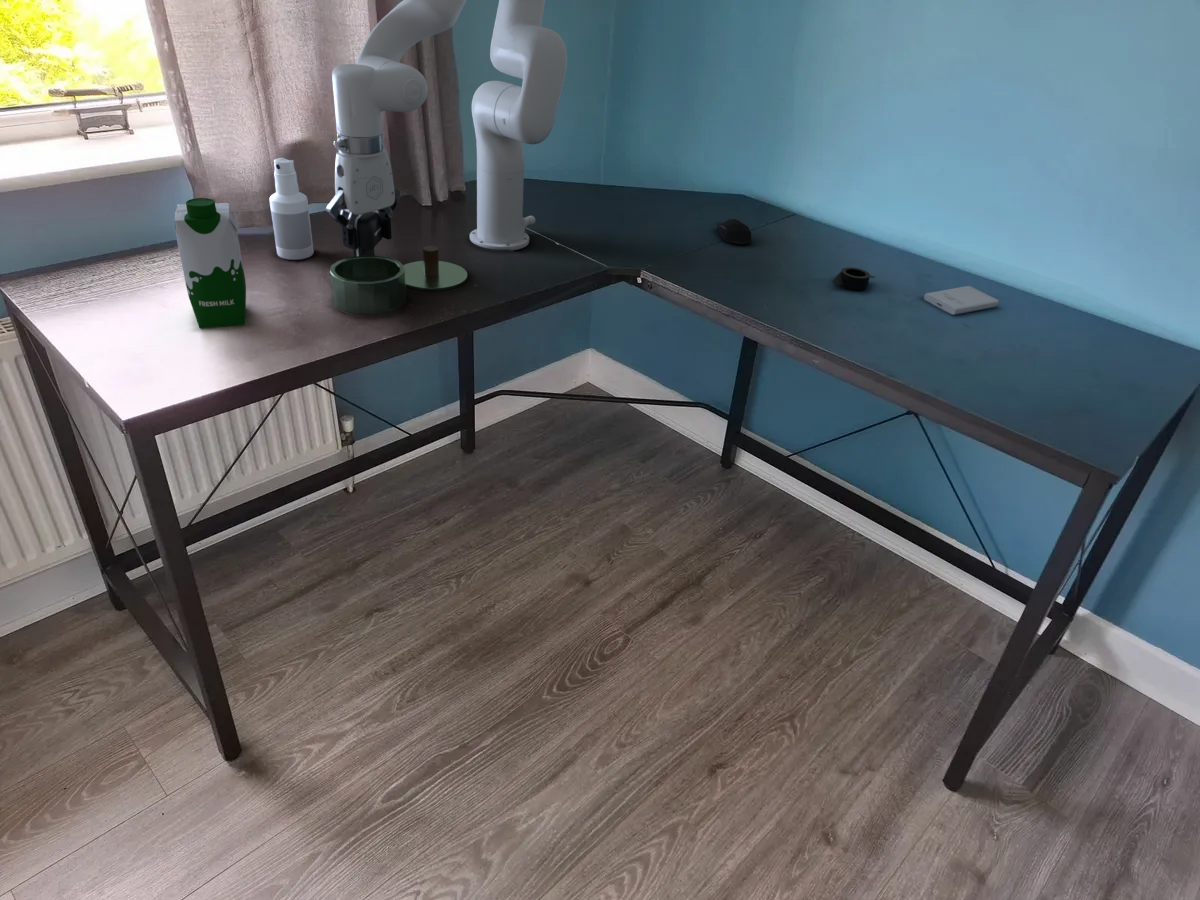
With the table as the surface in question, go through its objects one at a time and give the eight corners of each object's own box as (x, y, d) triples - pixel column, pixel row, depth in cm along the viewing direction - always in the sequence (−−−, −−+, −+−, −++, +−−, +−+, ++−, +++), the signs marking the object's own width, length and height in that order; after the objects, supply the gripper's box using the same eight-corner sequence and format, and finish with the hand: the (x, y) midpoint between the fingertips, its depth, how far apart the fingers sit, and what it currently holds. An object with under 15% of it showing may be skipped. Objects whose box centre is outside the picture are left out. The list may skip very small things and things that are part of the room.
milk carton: (193, 331, 134) (167, 208, 123) (194, 308, 141) (170, 189, 129) (251, 327, 136) (231, 206, 125) (250, 304, 143) (231, 187, 132)
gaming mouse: (732, 224, 200) (735, 207, 198) (754, 246, 188) (758, 229, 186) (707, 224, 199) (710, 207, 196) (728, 246, 187) (731, 229, 185)
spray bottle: (269, 255, 162) (255, 160, 152) (293, 245, 167) (280, 153, 157) (298, 263, 160) (286, 167, 150) (321, 252, 165) (310, 159, 155)
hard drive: (996, 308, 169) (953, 315, 164) (965, 292, 175) (922, 299, 170) (999, 300, 168) (956, 308, 163) (968, 285, 174) (925, 291, 169)
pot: (373, 282, 155) (370, 250, 151) (420, 302, 149) (419, 269, 146) (318, 302, 146) (314, 268, 143) (367, 324, 141) (364, 289, 137)
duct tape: (825, 276, 176) (828, 263, 175) (872, 281, 176) (875, 268, 175) (831, 291, 170) (834, 277, 168) (880, 295, 170) (884, 282, 168)
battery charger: (375, 282, 155) (370, 222, 148) (354, 280, 155) (349, 219, 148) (386, 268, 160) (382, 210, 154) (367, 266, 160) (362, 207, 154)
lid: (431, 261, 166) (430, 230, 163) (481, 280, 160) (482, 249, 157) (380, 279, 157) (377, 247, 153) (431, 300, 151) (430, 267, 147)
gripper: (334, 156, 136) (344, 260, 146) (413, 140, 148) (417, 237, 158) (304, 146, 140) (316, 248, 149) (383, 131, 152) (389, 226, 162)
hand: (368, 241), depth 154 cm, fingers closed on battery charger, 7 cm apart
